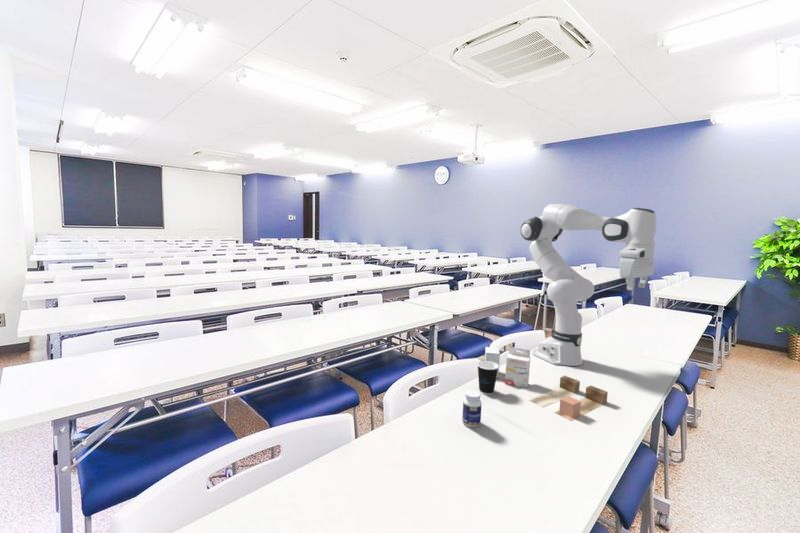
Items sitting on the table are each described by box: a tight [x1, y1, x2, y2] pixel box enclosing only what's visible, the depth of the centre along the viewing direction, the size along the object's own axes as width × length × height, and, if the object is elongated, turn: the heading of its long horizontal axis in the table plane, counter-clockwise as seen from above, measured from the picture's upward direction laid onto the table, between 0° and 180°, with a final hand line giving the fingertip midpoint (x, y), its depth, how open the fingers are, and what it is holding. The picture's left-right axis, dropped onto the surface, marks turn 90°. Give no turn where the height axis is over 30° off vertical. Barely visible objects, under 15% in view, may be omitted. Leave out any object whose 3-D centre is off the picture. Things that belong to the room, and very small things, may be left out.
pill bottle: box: [461, 389, 482, 428], centre depth 115 cm, size 6×6×10 cm
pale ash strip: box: [528, 375, 581, 408], centre depth 131 cm, size 6×22×5 cm, turn 124°
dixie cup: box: [476, 360, 500, 395], centre depth 136 cm, size 8×8×11 cm
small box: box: [484, 346, 501, 379], centre depth 153 cm, size 8×6×10 cm
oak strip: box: [554, 384, 608, 422], centre depth 123 cm, size 6×22×5 cm, turn 124°
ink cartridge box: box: [504, 346, 531, 389], centre depth 142 cm, size 9×5×15 cm, turn 65°
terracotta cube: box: [559, 396, 581, 418], centre depth 119 cm, size 4×4×4 cm
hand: (635, 288), depth 136 cm, fingers open, 8 cm apart
